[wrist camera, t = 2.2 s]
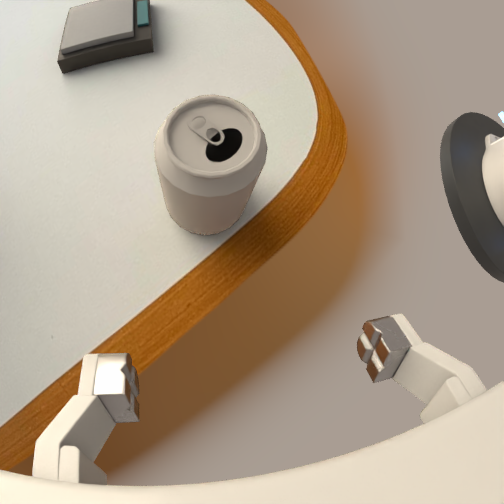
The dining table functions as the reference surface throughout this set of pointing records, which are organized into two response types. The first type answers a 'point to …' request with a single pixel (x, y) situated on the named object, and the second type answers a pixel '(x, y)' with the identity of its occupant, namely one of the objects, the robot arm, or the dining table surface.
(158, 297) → the dining table surface
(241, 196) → the can
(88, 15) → the scale
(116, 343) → the dining table surface
